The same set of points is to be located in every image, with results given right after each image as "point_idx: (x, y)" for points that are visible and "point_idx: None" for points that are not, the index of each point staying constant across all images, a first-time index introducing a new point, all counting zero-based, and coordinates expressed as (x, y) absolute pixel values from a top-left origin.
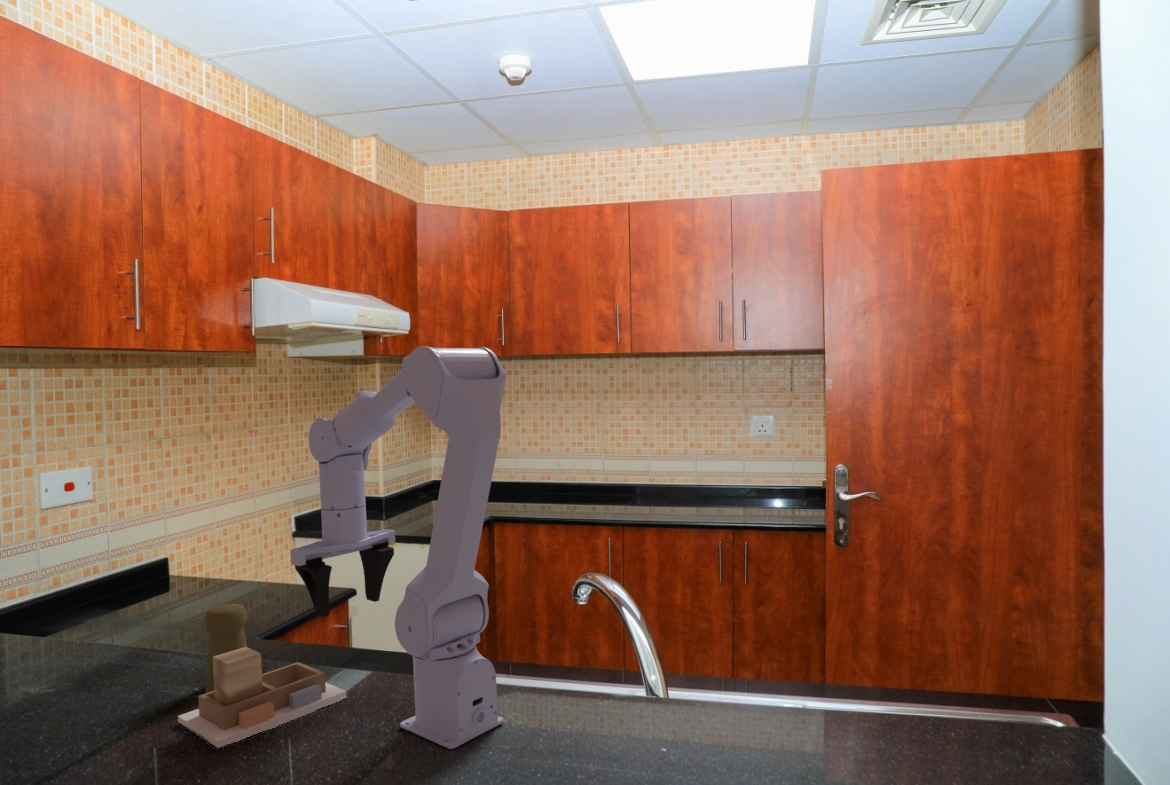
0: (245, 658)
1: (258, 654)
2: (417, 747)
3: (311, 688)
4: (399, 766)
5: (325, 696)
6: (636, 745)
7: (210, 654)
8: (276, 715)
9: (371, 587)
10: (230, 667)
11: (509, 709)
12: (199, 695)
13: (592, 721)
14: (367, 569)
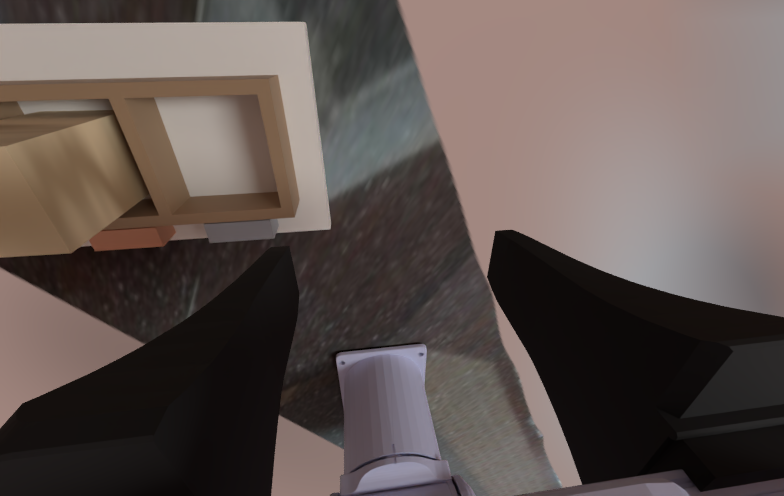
0: (17, 255)
1: (63, 252)
2: (325, 391)
3: (253, 234)
4: (290, 406)
5: (289, 221)
6: (451, 469)
7: None
8: (181, 228)
9: (515, 289)
10: None
11: (450, 386)
12: None
13: (470, 437)
14: (570, 318)
